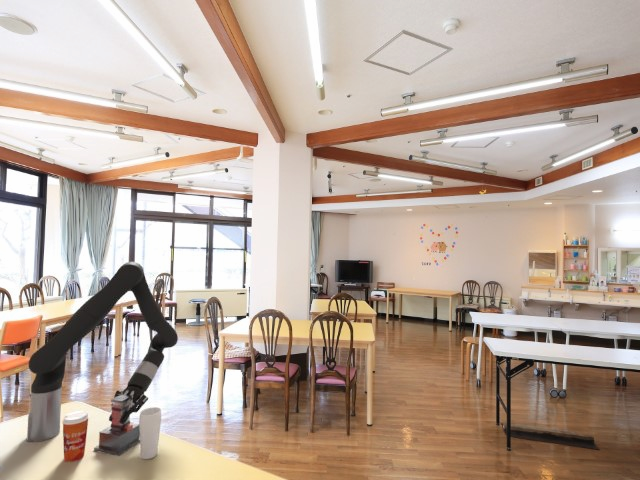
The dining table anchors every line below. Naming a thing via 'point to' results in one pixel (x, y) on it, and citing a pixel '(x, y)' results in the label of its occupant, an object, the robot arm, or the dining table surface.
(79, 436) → the paper cup
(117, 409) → the column
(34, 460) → the dining table surface
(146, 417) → the drinking glass
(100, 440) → the sleeve
